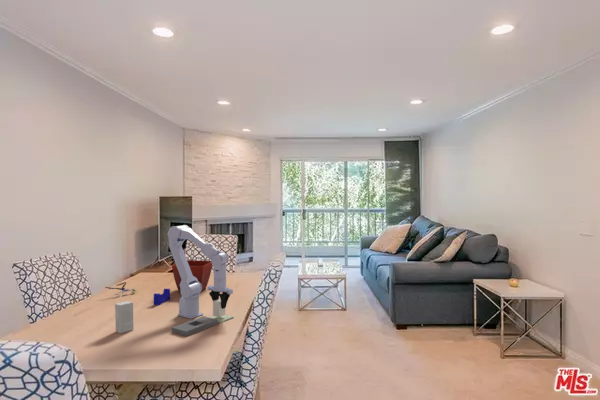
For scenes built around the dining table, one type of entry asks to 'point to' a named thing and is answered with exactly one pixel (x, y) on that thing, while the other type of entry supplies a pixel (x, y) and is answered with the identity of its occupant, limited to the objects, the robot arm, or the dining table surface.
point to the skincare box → (124, 316)
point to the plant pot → (195, 272)
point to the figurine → (123, 289)
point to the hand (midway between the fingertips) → (219, 307)
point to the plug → (218, 308)
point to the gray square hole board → (190, 326)
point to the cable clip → (162, 297)
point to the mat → (222, 318)
